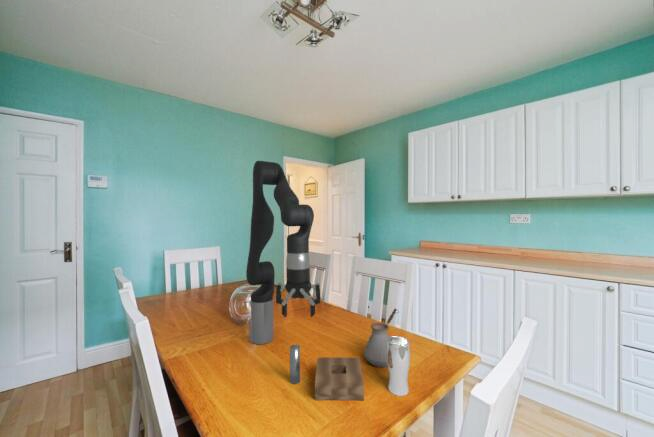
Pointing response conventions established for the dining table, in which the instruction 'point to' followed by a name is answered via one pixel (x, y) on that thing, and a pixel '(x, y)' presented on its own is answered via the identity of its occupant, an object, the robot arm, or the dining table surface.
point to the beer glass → (398, 364)
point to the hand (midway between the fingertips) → (298, 316)
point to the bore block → (339, 379)
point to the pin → (294, 364)
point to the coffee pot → (378, 343)
